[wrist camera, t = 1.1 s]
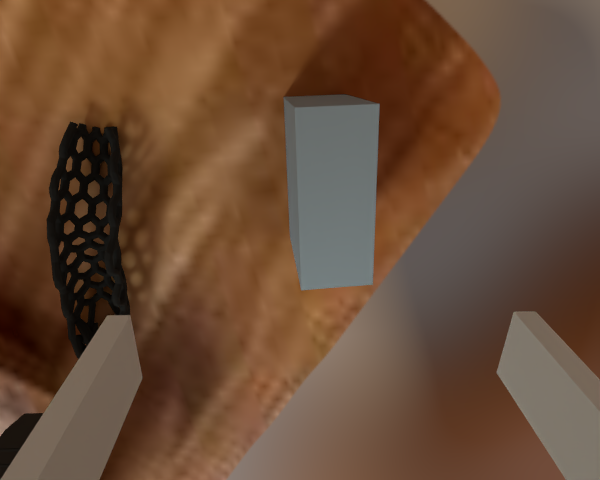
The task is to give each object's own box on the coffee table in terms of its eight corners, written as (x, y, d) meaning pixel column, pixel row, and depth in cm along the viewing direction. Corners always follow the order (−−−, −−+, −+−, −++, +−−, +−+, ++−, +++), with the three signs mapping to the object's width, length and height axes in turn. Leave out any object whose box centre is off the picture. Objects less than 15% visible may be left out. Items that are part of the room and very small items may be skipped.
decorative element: (65, 117, 32) (25, 128, 27) (132, 124, 33) (107, 136, 28) (86, 354, 41) (60, 398, 35) (140, 356, 41) (122, 399, 36)
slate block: (344, 232, 38) (372, 284, 29) (289, 236, 38) (301, 290, 28) (345, 94, 33) (379, 104, 24) (283, 96, 33) (294, 107, 24)
